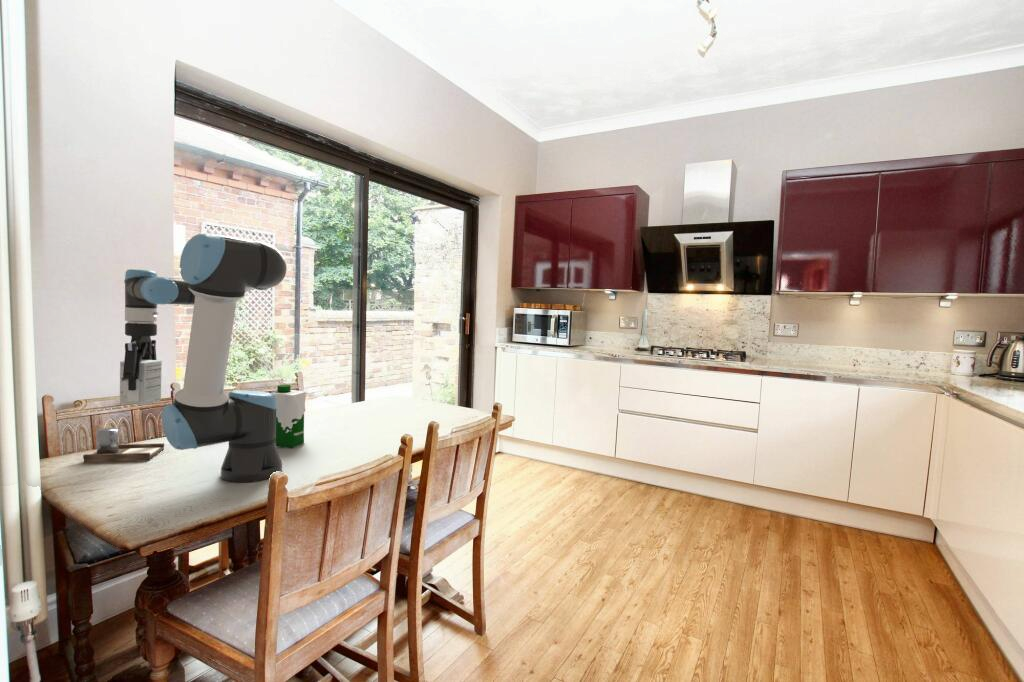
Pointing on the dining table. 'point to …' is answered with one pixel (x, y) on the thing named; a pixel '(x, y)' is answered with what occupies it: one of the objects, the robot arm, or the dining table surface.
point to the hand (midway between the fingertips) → (140, 398)
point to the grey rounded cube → (108, 440)
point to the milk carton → (289, 416)
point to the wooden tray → (127, 453)
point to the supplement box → (143, 383)
